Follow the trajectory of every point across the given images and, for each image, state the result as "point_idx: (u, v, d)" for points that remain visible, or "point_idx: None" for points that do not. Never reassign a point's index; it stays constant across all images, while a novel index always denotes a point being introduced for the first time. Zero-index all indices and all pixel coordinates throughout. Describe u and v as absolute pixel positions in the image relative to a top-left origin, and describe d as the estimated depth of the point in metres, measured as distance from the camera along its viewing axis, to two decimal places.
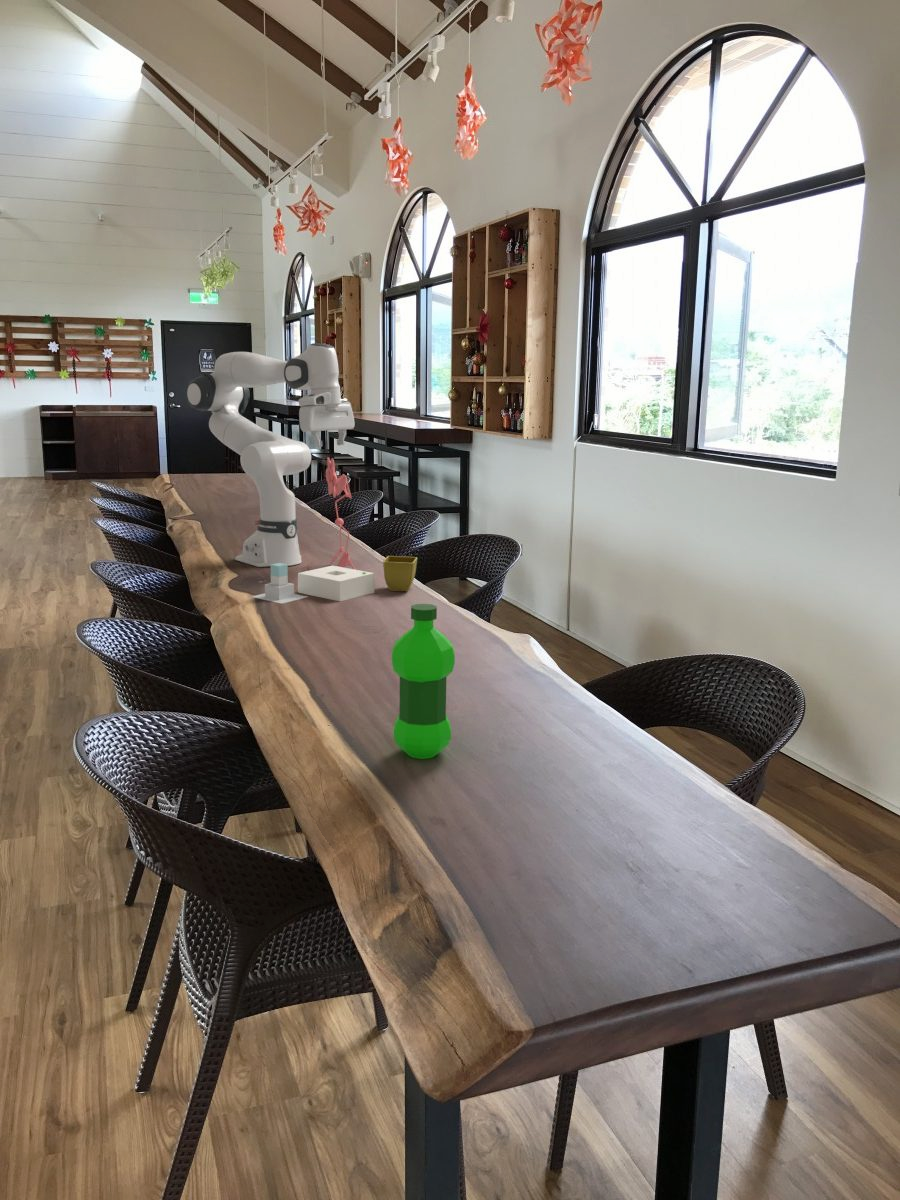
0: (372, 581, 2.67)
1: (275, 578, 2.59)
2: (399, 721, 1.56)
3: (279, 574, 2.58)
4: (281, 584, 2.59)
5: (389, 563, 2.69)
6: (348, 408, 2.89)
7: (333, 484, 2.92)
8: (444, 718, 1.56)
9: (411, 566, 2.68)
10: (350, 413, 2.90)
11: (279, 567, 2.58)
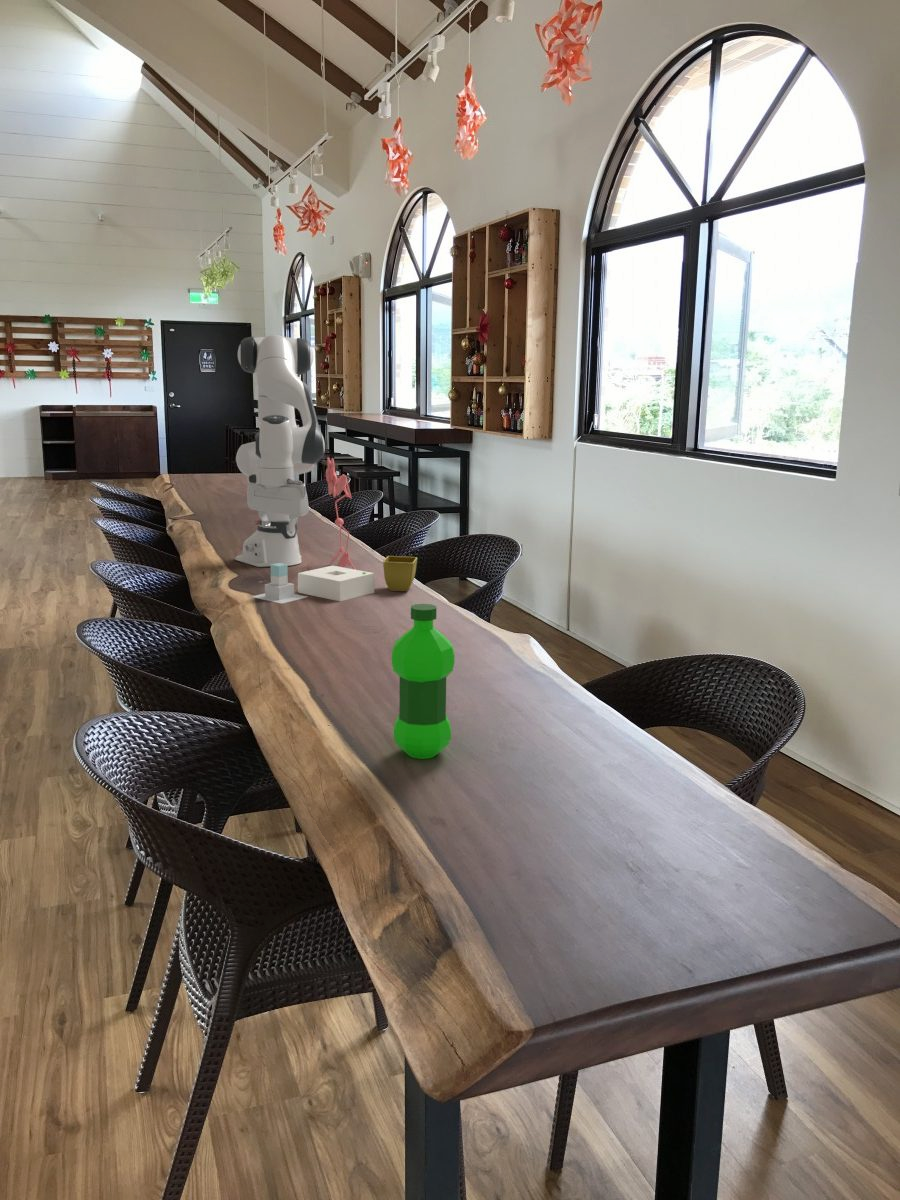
0: (372, 581, 2.67)
1: (275, 578, 2.59)
2: (399, 721, 1.56)
3: (279, 574, 2.58)
4: (281, 584, 2.59)
5: (389, 563, 2.69)
6: (292, 492, 2.49)
7: (333, 484, 2.92)
8: (444, 718, 1.56)
9: (411, 566, 2.68)
10: (294, 498, 2.49)
11: (279, 567, 2.58)
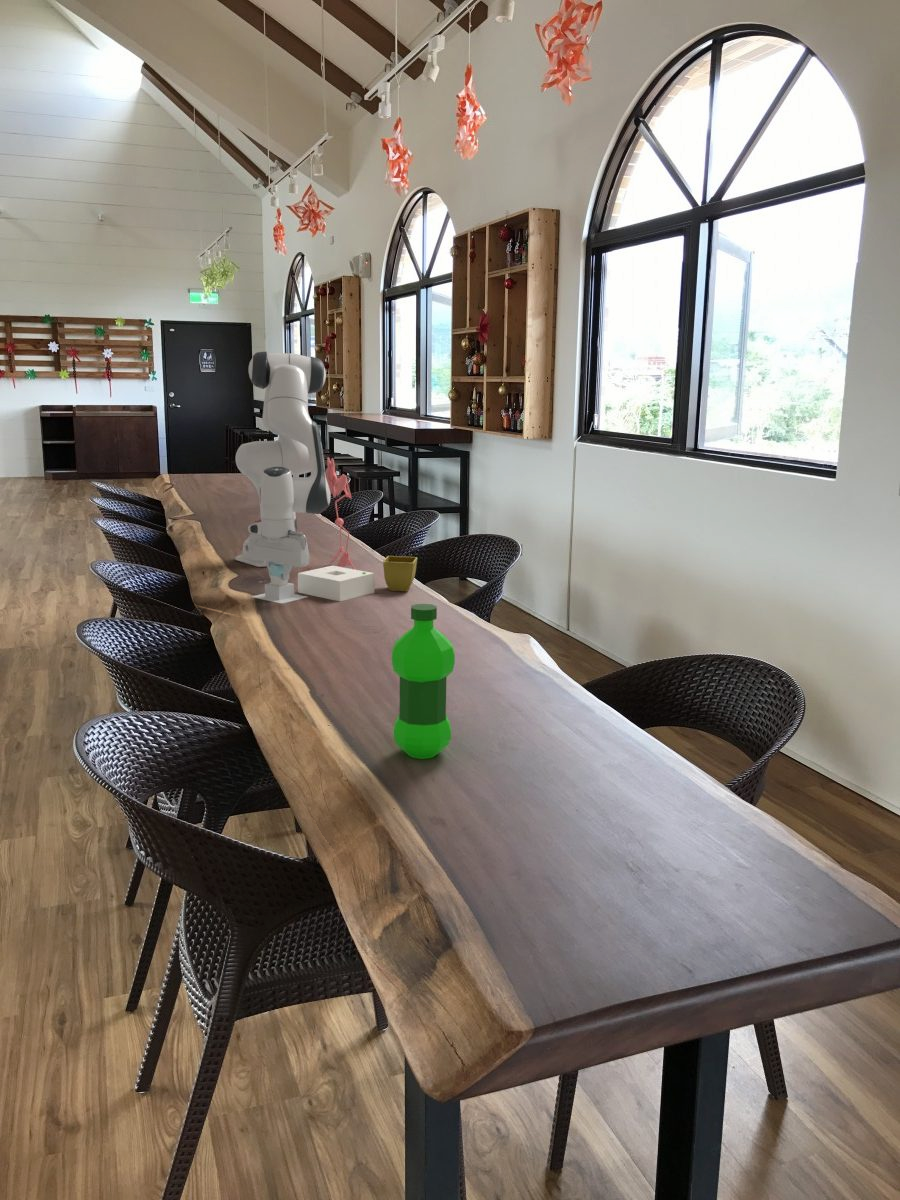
0: (372, 581, 2.67)
1: (275, 578, 2.59)
2: (399, 721, 1.56)
3: (279, 574, 2.58)
4: (281, 584, 2.59)
5: (389, 563, 2.69)
6: (293, 543, 2.52)
7: (333, 484, 2.92)
8: (444, 718, 1.56)
9: (411, 566, 2.68)
10: (294, 549, 2.52)
11: (279, 567, 2.58)
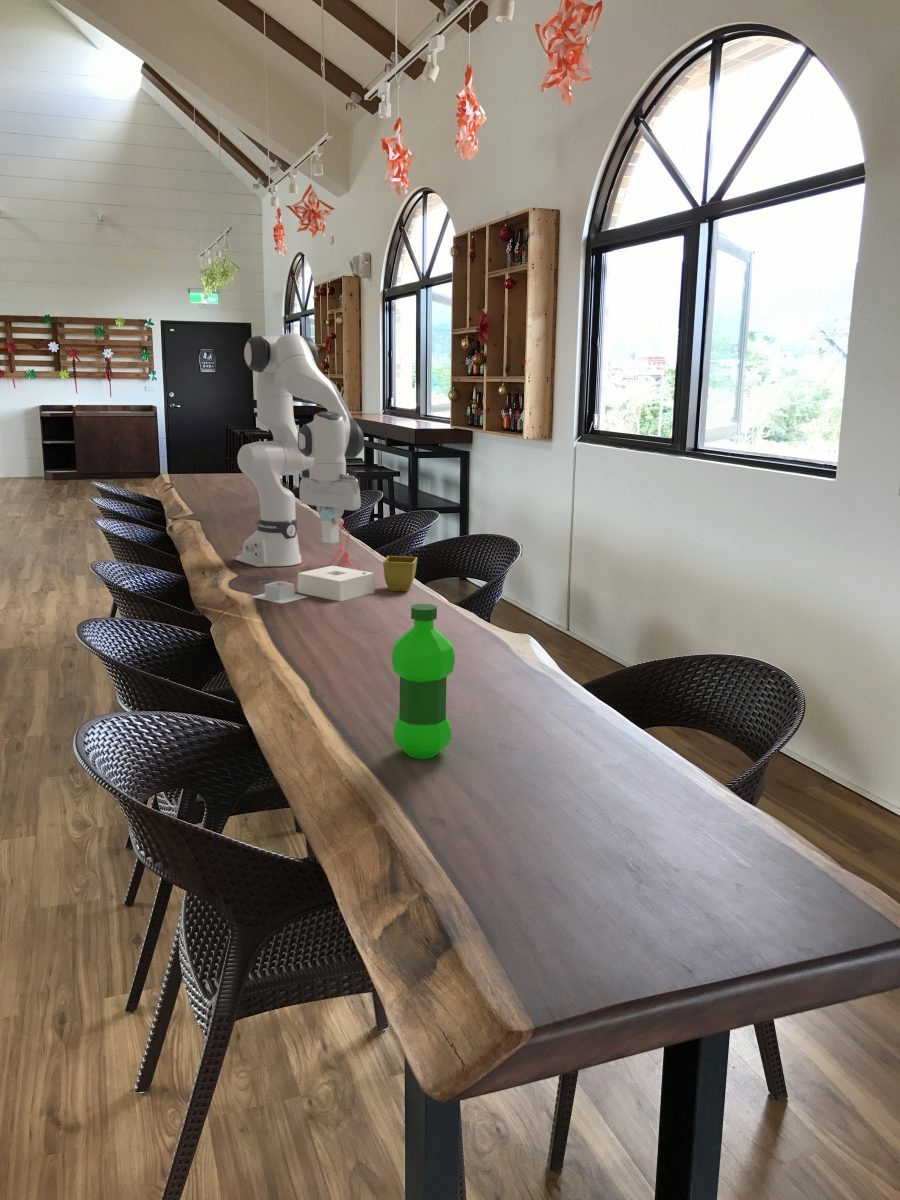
0: (372, 581, 2.67)
1: (326, 523, 2.61)
2: (399, 721, 1.56)
3: (330, 518, 2.60)
4: (332, 529, 2.61)
5: (389, 563, 2.69)
6: (345, 487, 2.54)
7: None
8: (444, 718, 1.56)
9: (411, 566, 2.68)
10: (347, 492, 2.54)
11: (330, 511, 2.60)
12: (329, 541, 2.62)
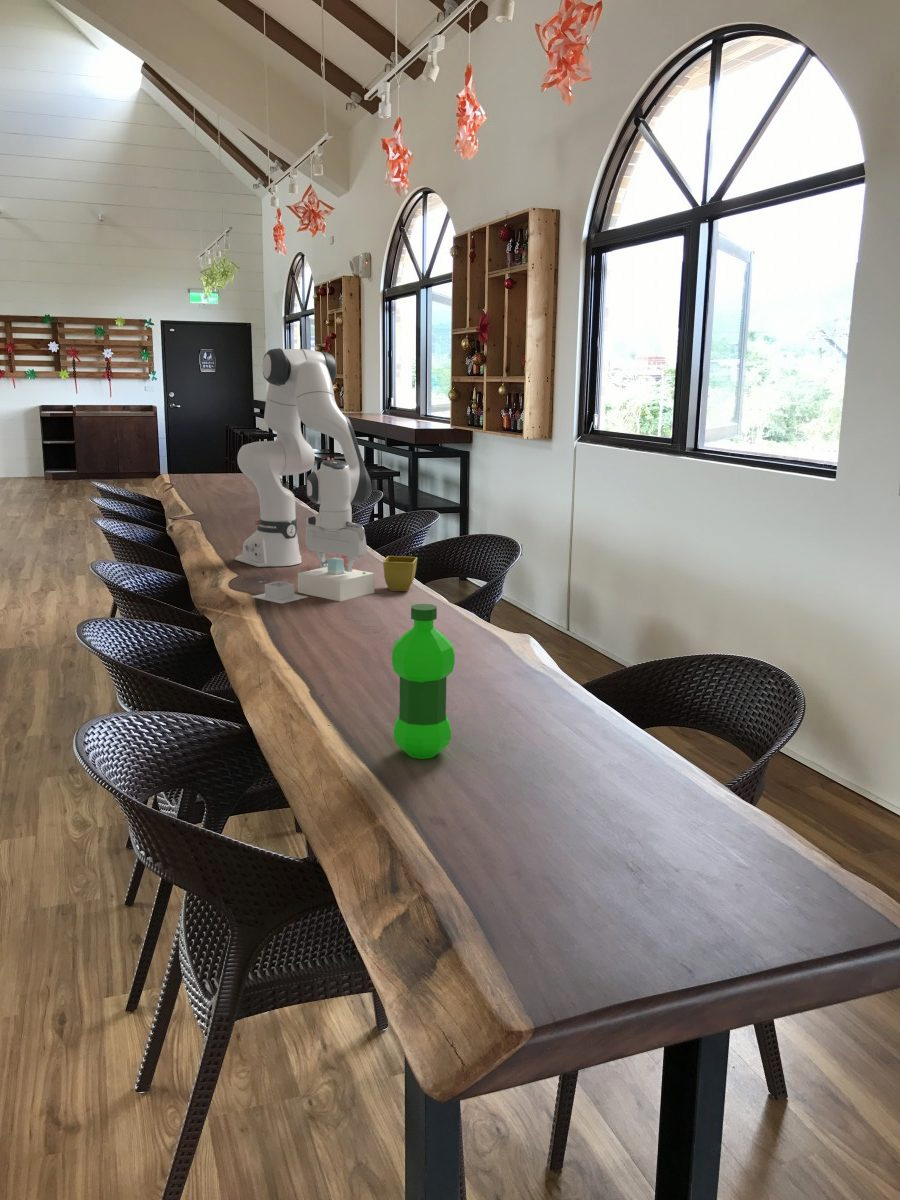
0: (372, 581, 2.67)
1: (332, 572, 2.65)
2: (399, 721, 1.56)
3: (336, 568, 2.64)
4: None
5: (389, 563, 2.69)
6: (351, 535, 2.58)
7: None
8: (444, 718, 1.56)
9: (411, 566, 2.68)
10: (353, 540, 2.58)
11: (336, 561, 2.64)
12: None
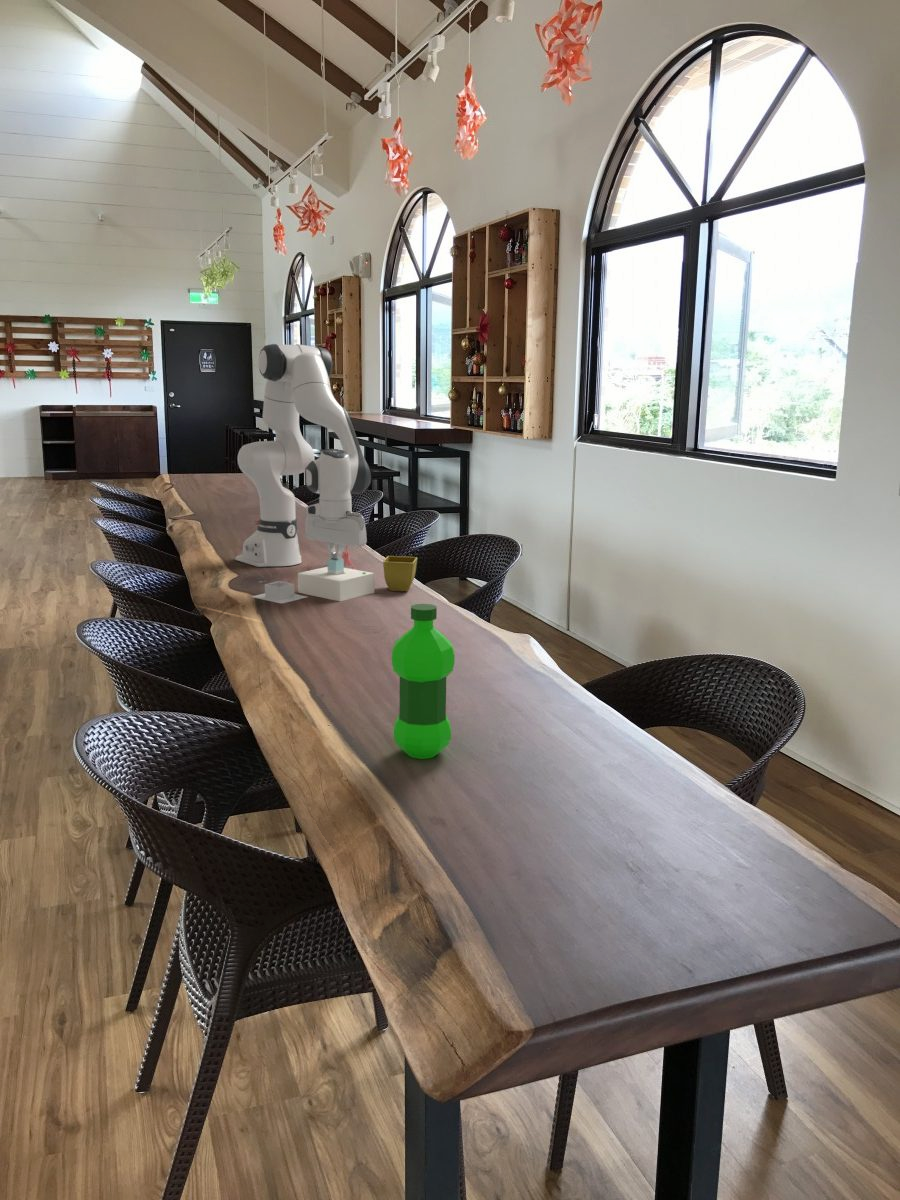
0: (372, 581, 2.67)
1: (332, 572, 2.65)
2: (399, 721, 1.56)
3: (336, 568, 2.64)
4: None
5: (389, 563, 2.69)
6: (351, 524, 2.57)
7: None
8: (444, 718, 1.56)
9: (411, 566, 2.68)
10: (353, 529, 2.57)
11: (336, 561, 2.64)
12: None
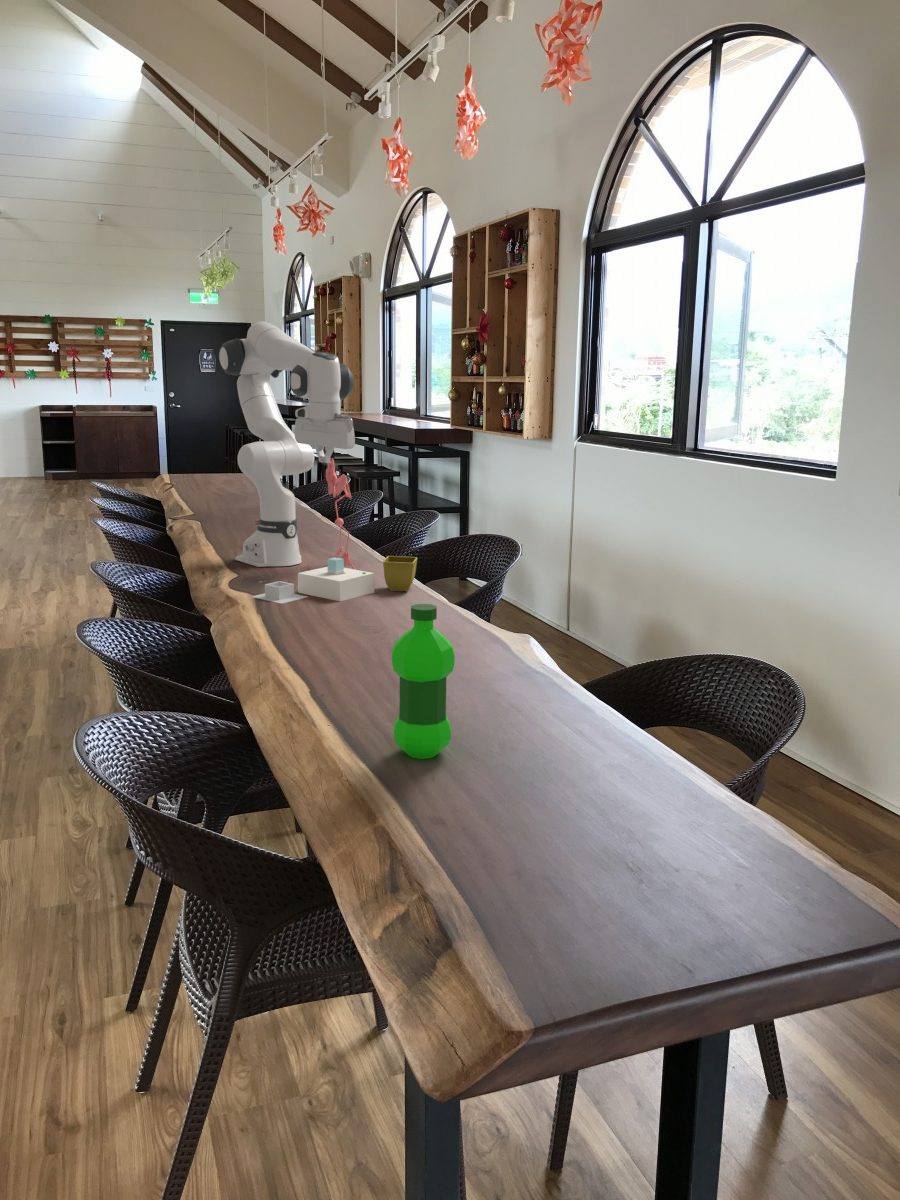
0: (372, 581, 2.67)
1: (332, 572, 2.65)
2: (399, 721, 1.56)
3: (336, 568, 2.64)
4: None
5: (389, 563, 2.69)
6: (340, 426, 2.61)
7: (333, 484, 2.92)
8: (444, 718, 1.56)
9: (411, 566, 2.68)
10: (341, 431, 2.61)
11: (336, 561, 2.64)
12: None
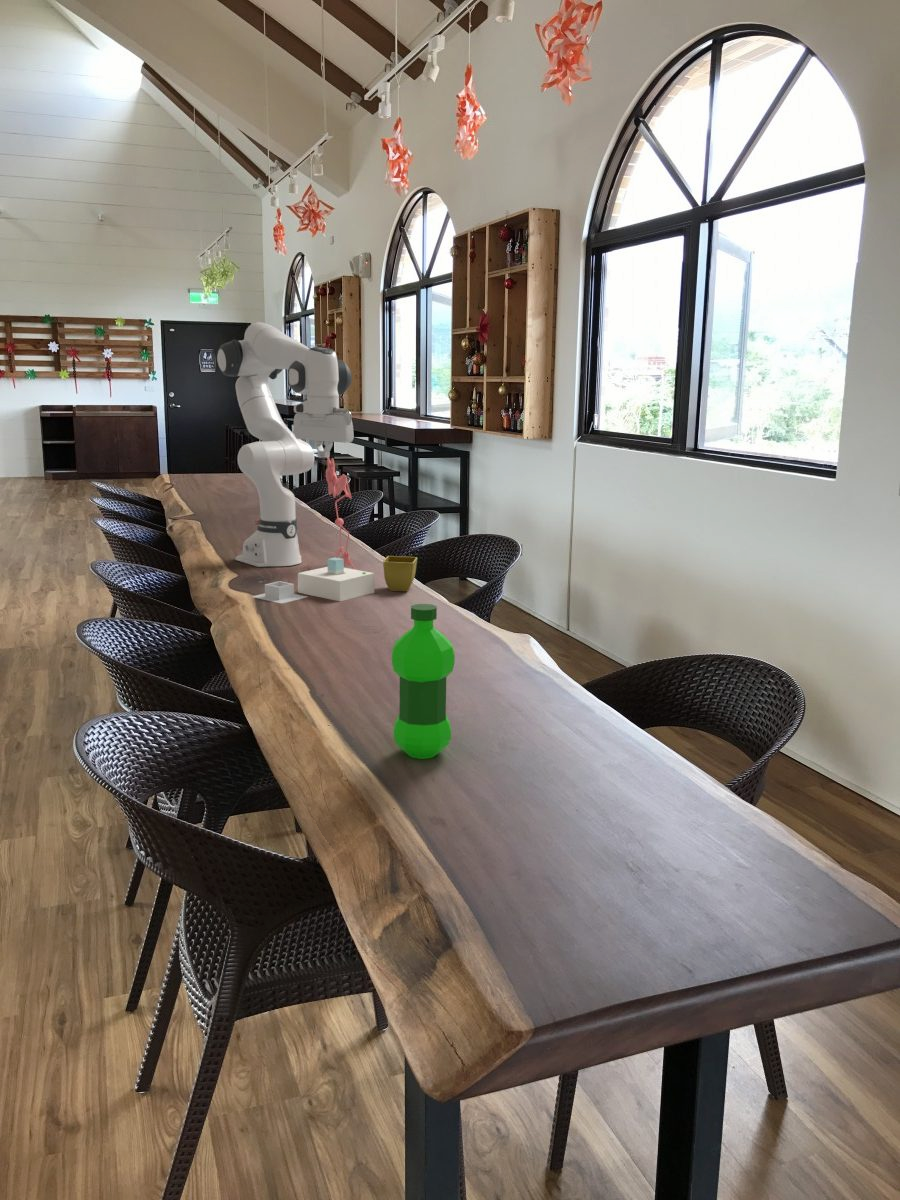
0: (372, 581, 2.67)
1: (332, 572, 2.65)
2: (399, 721, 1.56)
3: (336, 568, 2.64)
4: None
5: (389, 563, 2.69)
6: (338, 419, 2.61)
7: (333, 484, 2.92)
8: (444, 718, 1.56)
9: (411, 566, 2.68)
10: (340, 425, 2.61)
11: (336, 561, 2.64)
12: None
